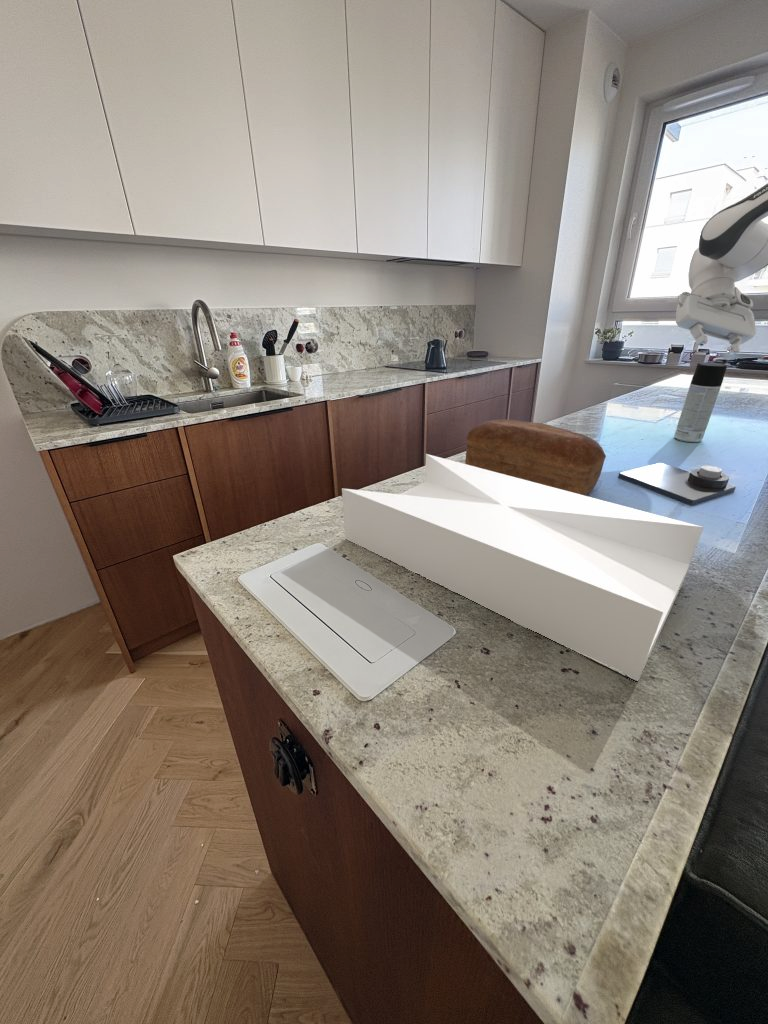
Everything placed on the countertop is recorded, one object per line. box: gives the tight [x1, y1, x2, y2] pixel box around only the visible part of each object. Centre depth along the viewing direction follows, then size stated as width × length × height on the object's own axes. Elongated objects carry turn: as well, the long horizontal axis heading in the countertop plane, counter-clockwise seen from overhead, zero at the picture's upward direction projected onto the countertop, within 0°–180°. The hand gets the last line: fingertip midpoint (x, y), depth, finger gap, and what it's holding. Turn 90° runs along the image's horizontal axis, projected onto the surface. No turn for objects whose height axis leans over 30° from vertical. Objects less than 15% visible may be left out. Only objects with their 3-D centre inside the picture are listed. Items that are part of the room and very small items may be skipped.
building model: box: [341, 453, 705, 682], centre depth 63 cm, size 45×22×10 cm, turn 48°
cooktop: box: [617, 462, 737, 507], centre depth 89 cm, size 16×14×3 cm
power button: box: [699, 465, 723, 479], centre depth 86 cm, size 4×4×2 cm
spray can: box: [673, 362, 728, 443], centre depth 112 cm, size 7×7×20 cm
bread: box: [464, 418, 607, 496], centre depth 90 cm, size 14×28×12 cm, turn 46°
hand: (717, 348), depth 102 cm, fingers open, 8 cm apart
